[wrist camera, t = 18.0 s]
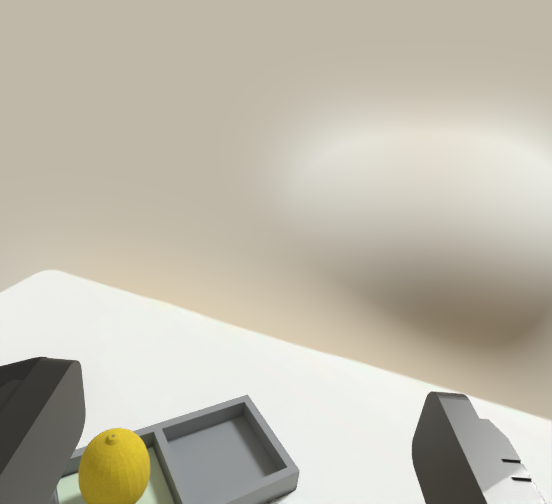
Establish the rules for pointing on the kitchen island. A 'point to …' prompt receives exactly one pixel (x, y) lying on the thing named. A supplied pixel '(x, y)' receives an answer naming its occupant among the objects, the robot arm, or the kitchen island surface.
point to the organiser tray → (205, 460)
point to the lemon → (114, 468)
